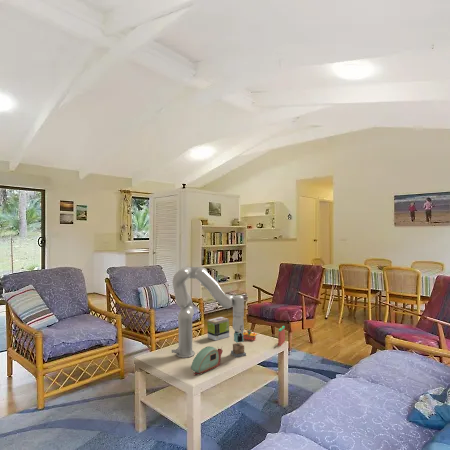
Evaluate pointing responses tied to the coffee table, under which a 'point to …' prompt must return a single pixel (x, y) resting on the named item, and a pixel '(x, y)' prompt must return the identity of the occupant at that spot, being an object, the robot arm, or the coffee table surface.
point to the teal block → (236, 337)
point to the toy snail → (206, 360)
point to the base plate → (238, 354)
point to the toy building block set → (253, 336)
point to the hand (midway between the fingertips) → (238, 340)
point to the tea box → (218, 328)
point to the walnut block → (238, 348)
